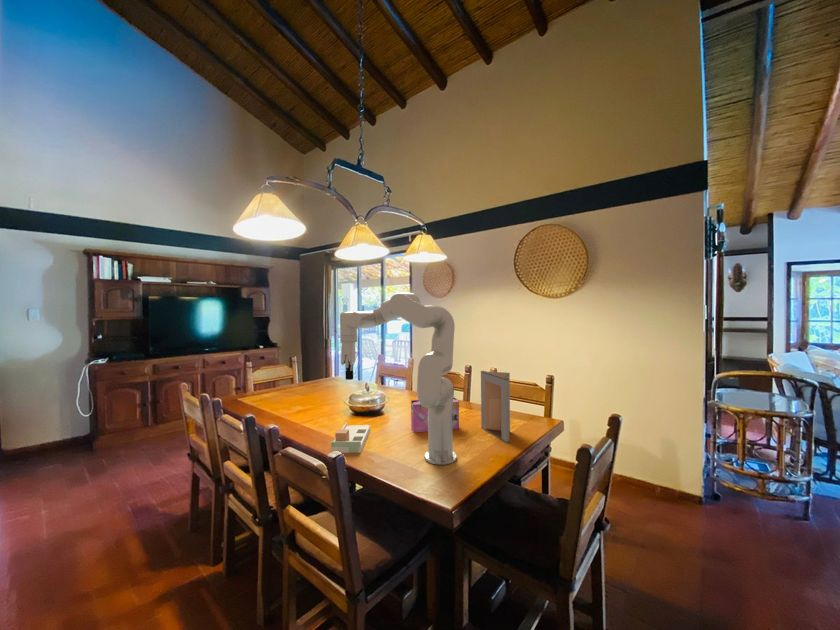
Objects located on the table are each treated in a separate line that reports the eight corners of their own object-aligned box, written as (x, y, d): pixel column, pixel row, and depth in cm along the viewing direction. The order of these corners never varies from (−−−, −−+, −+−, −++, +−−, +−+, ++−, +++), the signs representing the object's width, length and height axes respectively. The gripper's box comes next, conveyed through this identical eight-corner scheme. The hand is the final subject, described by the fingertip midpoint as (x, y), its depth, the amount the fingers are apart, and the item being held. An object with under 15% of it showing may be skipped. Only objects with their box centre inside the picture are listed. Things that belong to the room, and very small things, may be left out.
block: (345, 443, 146) (345, 433, 146) (335, 443, 146) (335, 433, 146) (349, 439, 150) (349, 429, 150) (339, 439, 151) (338, 429, 151)
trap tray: (360, 452, 143) (360, 441, 143) (331, 453, 143) (331, 442, 143) (370, 430, 169) (370, 421, 169) (345, 430, 169) (345, 421, 169)
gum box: (457, 424, 177) (457, 397, 176) (462, 429, 169) (461, 401, 169) (410, 427, 172) (410, 400, 172) (413, 433, 165) (413, 404, 164)
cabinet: (481, 427, 170) (480, 370, 170) (498, 425, 174) (497, 369, 173) (506, 443, 151) (505, 378, 150) (524, 439, 154) (524, 377, 154)
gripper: (344, 337, 165) (344, 376, 166) (336, 340, 150) (337, 382, 151) (359, 337, 165) (360, 376, 166) (353, 340, 150) (354, 382, 151)
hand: (349, 379), depth 158 cm, fingers closed
